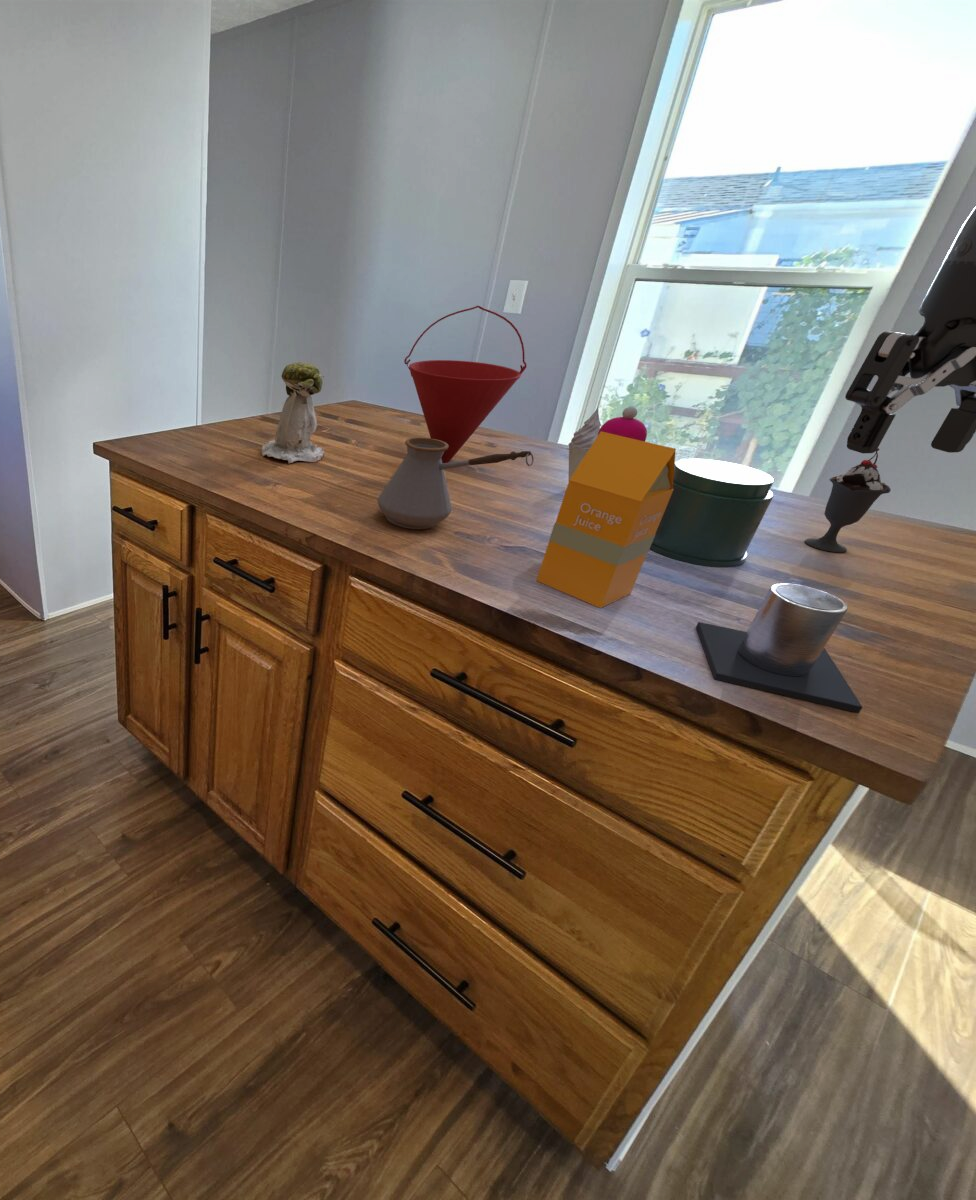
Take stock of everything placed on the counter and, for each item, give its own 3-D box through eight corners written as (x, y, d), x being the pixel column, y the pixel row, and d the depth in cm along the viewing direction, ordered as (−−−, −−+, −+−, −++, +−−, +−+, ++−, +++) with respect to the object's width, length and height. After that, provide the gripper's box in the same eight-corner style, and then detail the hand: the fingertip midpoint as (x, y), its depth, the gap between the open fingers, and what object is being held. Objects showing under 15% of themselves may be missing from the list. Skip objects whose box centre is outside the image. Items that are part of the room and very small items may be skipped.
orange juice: (566, 567, 93) (616, 427, 83) (631, 593, 86) (693, 444, 77) (534, 580, 89) (582, 435, 79) (600, 608, 83) (661, 454, 73)
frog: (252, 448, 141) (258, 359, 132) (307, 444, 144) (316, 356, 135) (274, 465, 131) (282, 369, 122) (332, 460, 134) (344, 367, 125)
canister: (734, 539, 103) (770, 465, 97) (755, 575, 92) (797, 494, 86) (632, 522, 108) (660, 451, 102) (641, 554, 97) (672, 476, 91)
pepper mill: (558, 523, 107) (599, 399, 97) (608, 530, 105) (656, 404, 95) (562, 540, 101) (607, 409, 91) (616, 548, 99) (667, 415, 89)
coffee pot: (361, 519, 107) (376, 427, 100) (397, 502, 114) (414, 415, 107) (489, 562, 94) (518, 460, 87) (521, 540, 101) (550, 444, 94)
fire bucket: (489, 458, 138) (530, 302, 123) (508, 489, 121) (558, 313, 106) (384, 449, 142) (410, 298, 127) (388, 478, 125) (419, 308, 110)
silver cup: (799, 653, 73) (837, 590, 69) (817, 683, 68) (858, 617, 64) (732, 639, 75) (764, 577, 72) (744, 666, 71) (779, 602, 67)
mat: (821, 653, 75) (825, 647, 74) (858, 713, 65) (863, 707, 65) (695, 627, 79) (698, 621, 79) (713, 679, 70) (717, 673, 70)
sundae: (834, 538, 103) (886, 445, 96) (864, 556, 98) (923, 459, 90) (787, 535, 104) (835, 442, 97) (815, 553, 99) (869, 456, 91)
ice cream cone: (585, 495, 119) (614, 412, 111) (554, 490, 121) (580, 408, 113) (585, 487, 122) (613, 406, 115) (555, 482, 125) (581, 402, 117)
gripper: (981, 259, 50) (869, 464, 58) (1154, 259, 51) (1019, 462, 59) (884, 255, 56) (795, 440, 65) (1038, 255, 57) (931, 438, 65)
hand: (902, 450), depth 62 cm, fingers open, 8 cm apart
